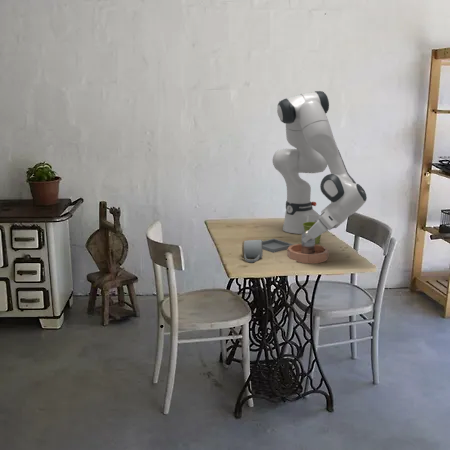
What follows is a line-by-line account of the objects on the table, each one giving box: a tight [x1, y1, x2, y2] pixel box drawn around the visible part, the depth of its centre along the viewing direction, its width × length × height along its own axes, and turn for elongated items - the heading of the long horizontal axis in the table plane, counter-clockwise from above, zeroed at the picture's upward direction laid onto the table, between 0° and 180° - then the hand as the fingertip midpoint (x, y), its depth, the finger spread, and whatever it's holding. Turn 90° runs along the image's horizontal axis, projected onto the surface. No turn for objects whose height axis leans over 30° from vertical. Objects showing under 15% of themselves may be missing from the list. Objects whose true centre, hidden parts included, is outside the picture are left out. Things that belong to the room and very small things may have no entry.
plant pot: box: [303, 222, 322, 245], centre depth 253 cm, size 9×9×9 cm
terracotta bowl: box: [286, 243, 329, 264], centre depth 234 cm, size 16×16×4 cm
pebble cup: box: [300, 230, 315, 254], centre depth 233 cm, size 5×5×10 cm
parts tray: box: [262, 238, 295, 253], centre depth 246 cm, size 12×12×2 cm
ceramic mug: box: [241, 239, 264, 264], centre depth 231 cm, size 11×8×8 cm
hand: (306, 238), depth 232 cm, fingers open, 8 cm apart
